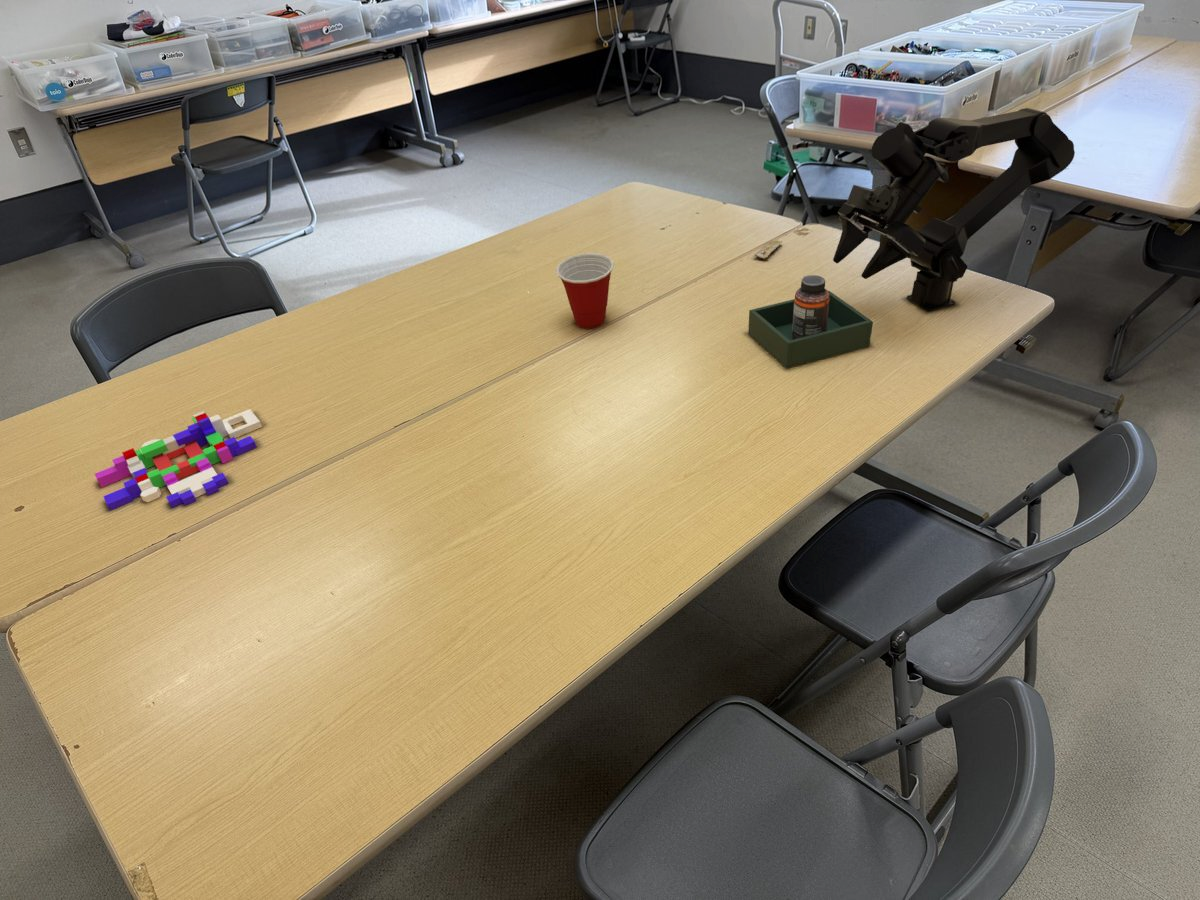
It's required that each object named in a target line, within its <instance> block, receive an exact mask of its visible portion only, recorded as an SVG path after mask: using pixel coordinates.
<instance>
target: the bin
mask: <svg viewBox="0 0 1200 900" xmlns="http://www.w3.org/2000/svg"><path fill="white" fill-rule="evenodd" d="M827 291H828V292H829V295H830V299H829V310H828V320H827V330H826V331H825V332H821V333H817V334H813V335H809V336H806V337H802V338H798V339H793V337H792V328H793V313H794V300H795V298H793V299H789V300H786V301H785V300H784V301H781V302H780V301H779V302H776V303H773V304H769V305H765V306H761V307H760V306H759V307H756V308H752V309H749V310H748V329H747V330H748V332H747V335H748V336H749V337H750V338H752V340H754V341H755V343H757V344H758V345H759V346H760V347H761V348H763V349H764V350H765V351H766V352H767V353H768V354H769V355H770V356H772V357H773V358H774V360H776V361H777V362H778V363H779V364H780V365H781V366H783V367H784V368H785V369H790V368H791V369H792V368H794V367H798V366H802V365H806V364H811V363H814V362H818V361H821V360H825V359H829V358H832V357H836V356H840V355H844V354H847V353H851V352H856V351H859V350H862V349H865V348H870V346H871V345H870V344H871V339H872V333H873V332H872V331H873V325H874V320H872V319H870V318H869V317H867V315H865V314H863V313H862V312H860V311H859V310H857V308H855V307H854V306H852V305H850V304H849V303H848V302H846V301H845V300H843V299H842V298H840V297H839V296H838V295H836V294H835V293H833V292H832V291H830V290H827Z"/></svg>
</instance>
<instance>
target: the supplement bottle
mask: <svg viewBox="0 0 1200 900" xmlns="http://www.w3.org/2000/svg"><path fill="white" fill-rule="evenodd" d="M828 291H829V290H828V289H827V288H826V279H825V278H824V277H823V276H821V275H818V274H817V275H816V274H810V275H806V276H804V277H802V278H801V282H800V287H799V288H798V289H797V290H796V291H795V293H794V299H795V300H794V313H793V328H792V337H793V339H798V338H802V337H806V336H809V335H813V334H817V333H821V332H825V331H826V330H827V320H828V310H829V299H830V295H829V292H828Z"/></svg>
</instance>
